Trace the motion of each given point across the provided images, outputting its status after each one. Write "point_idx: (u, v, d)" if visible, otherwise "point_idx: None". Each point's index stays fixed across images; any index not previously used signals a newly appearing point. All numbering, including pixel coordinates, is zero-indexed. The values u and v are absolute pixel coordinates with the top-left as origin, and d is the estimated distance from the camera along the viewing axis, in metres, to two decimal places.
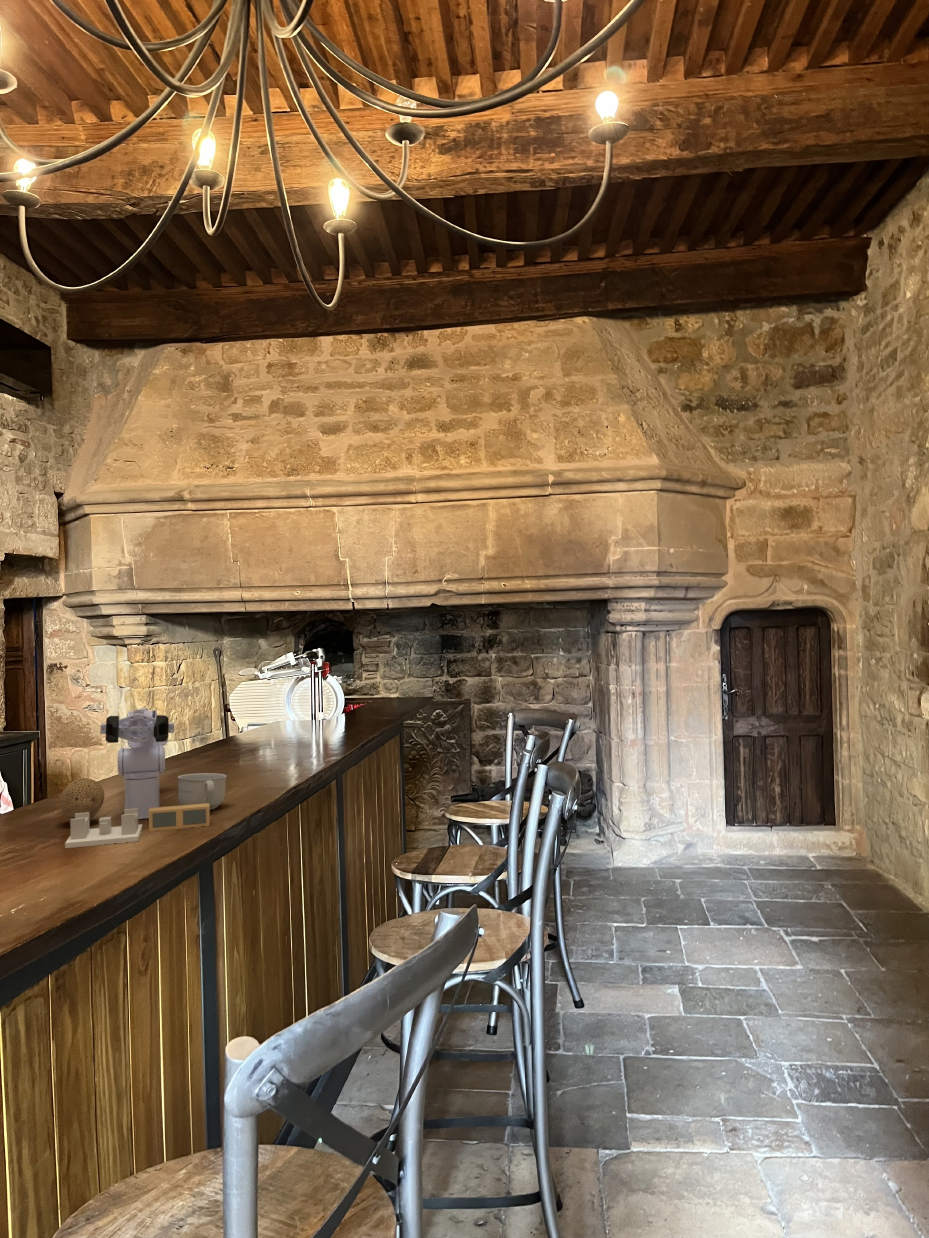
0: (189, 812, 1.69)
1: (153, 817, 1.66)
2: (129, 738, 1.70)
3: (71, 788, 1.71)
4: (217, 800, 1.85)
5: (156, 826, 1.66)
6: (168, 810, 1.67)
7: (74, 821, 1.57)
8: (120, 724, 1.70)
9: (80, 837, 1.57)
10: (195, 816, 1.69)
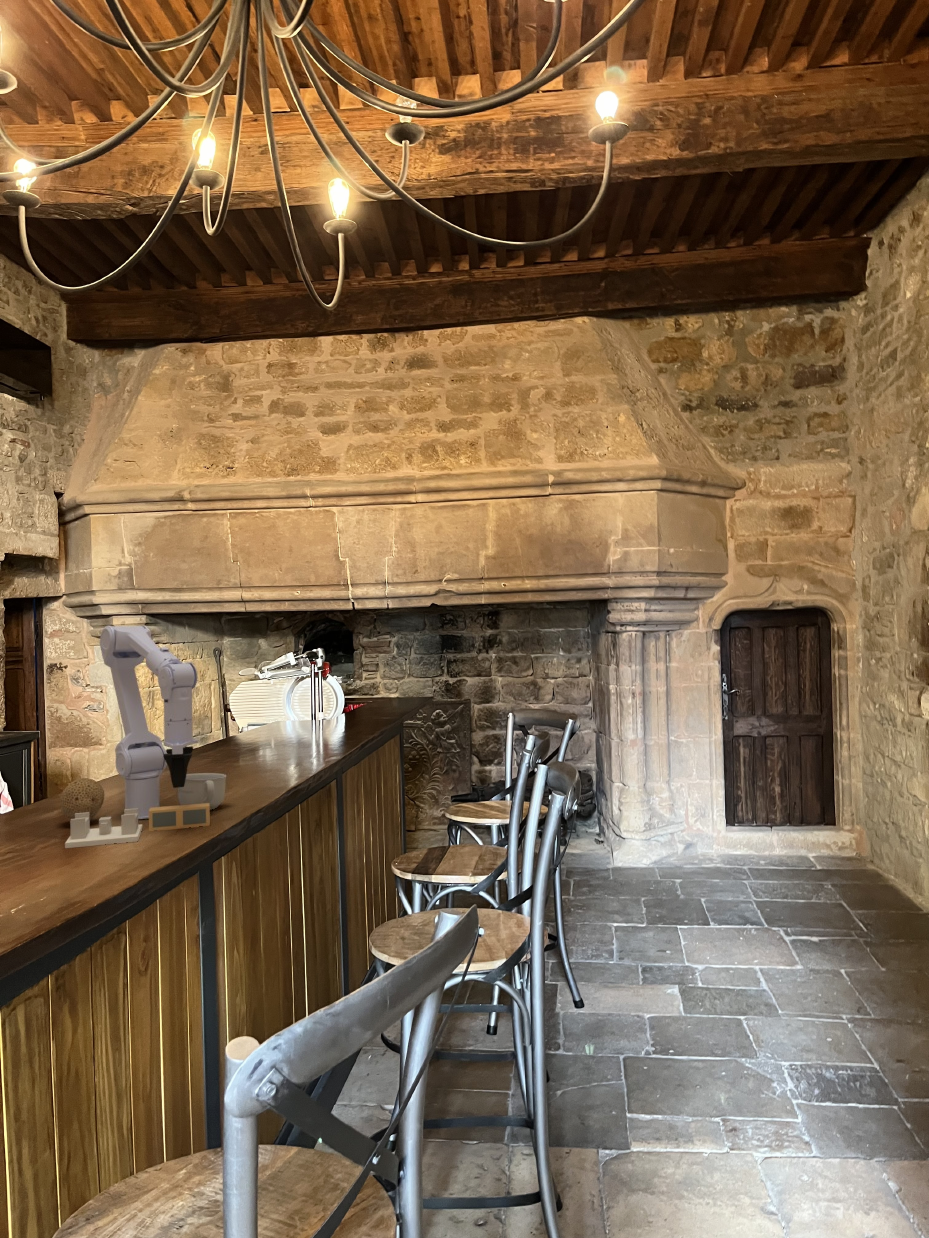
0: (189, 812, 1.69)
1: (153, 816, 1.67)
2: None
3: (71, 788, 1.71)
4: (217, 800, 1.85)
5: (155, 826, 1.67)
6: (168, 810, 1.68)
7: (74, 821, 1.57)
8: None
9: (80, 837, 1.57)
10: (195, 816, 1.69)
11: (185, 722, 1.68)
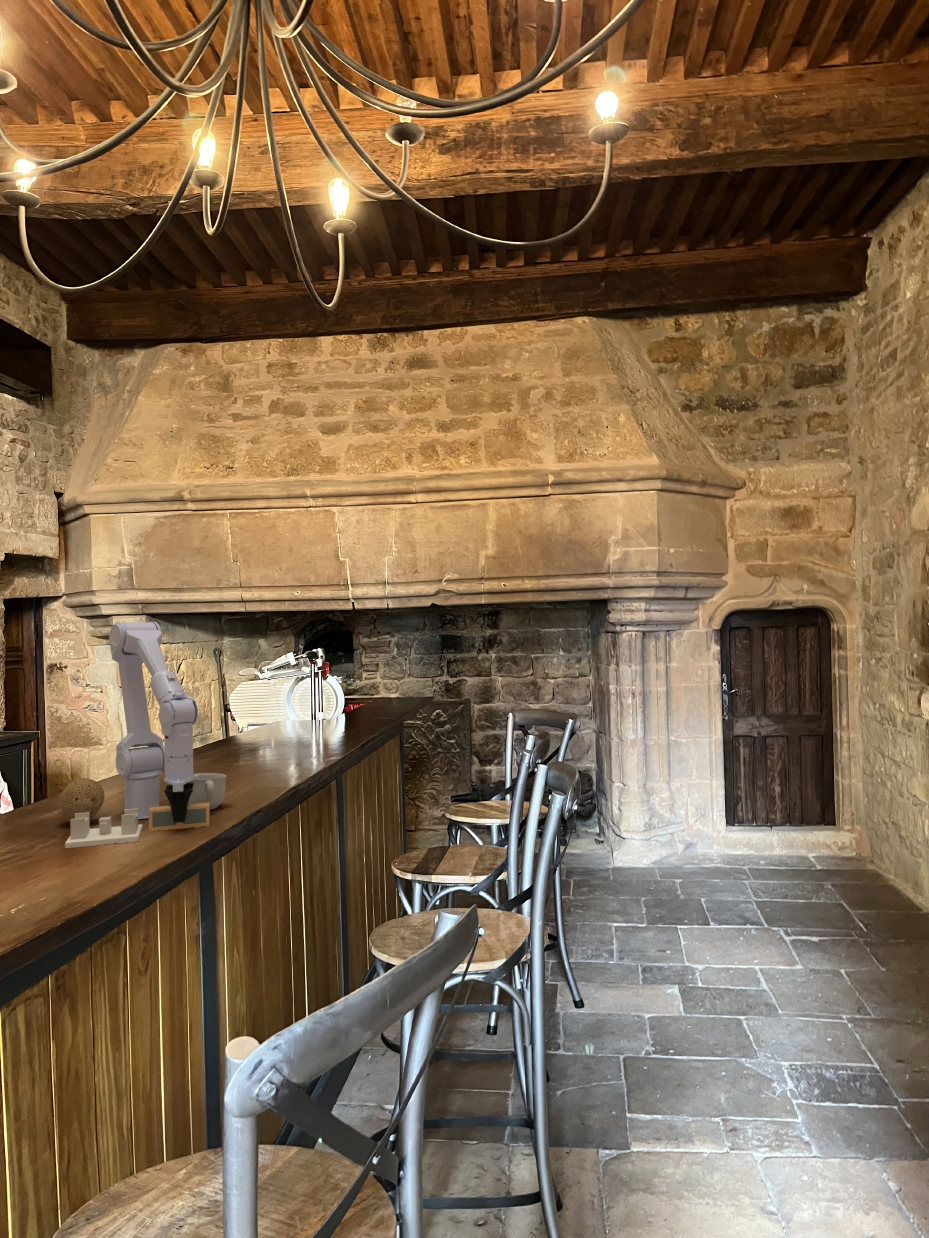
0: (189, 811, 1.68)
1: (153, 816, 1.66)
2: None
3: (71, 788, 1.71)
4: (217, 800, 1.85)
5: (155, 825, 1.66)
6: (168, 809, 1.67)
7: (74, 821, 1.57)
8: None
9: (80, 837, 1.57)
10: (195, 816, 1.69)
11: (186, 758, 1.68)
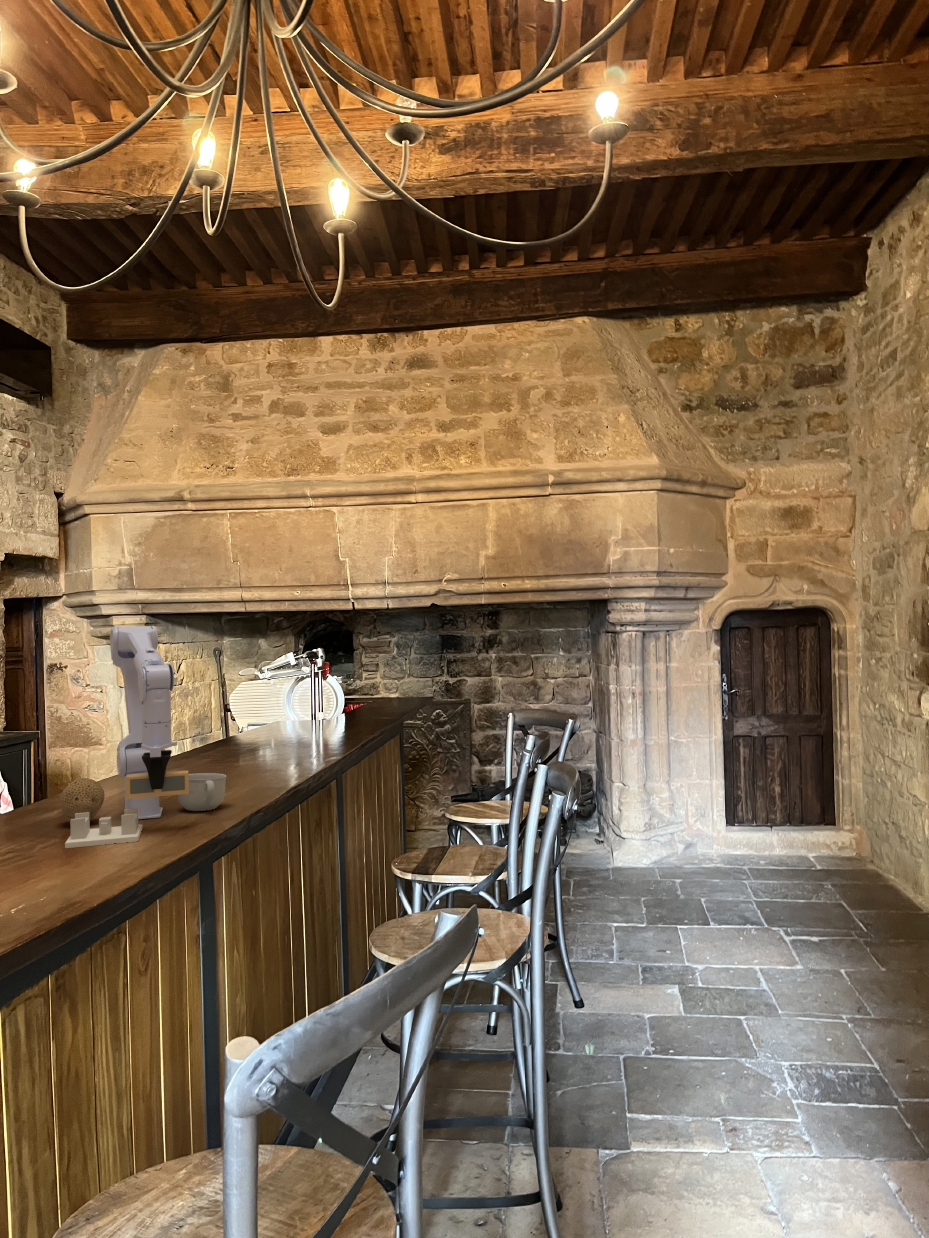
0: (167, 779, 1.66)
1: (131, 783, 1.64)
2: None
3: (71, 788, 1.71)
4: (217, 800, 1.85)
5: (133, 792, 1.64)
6: (146, 776, 1.65)
7: (74, 821, 1.57)
8: None
9: (80, 837, 1.57)
10: (174, 783, 1.67)
11: (163, 724, 1.65)
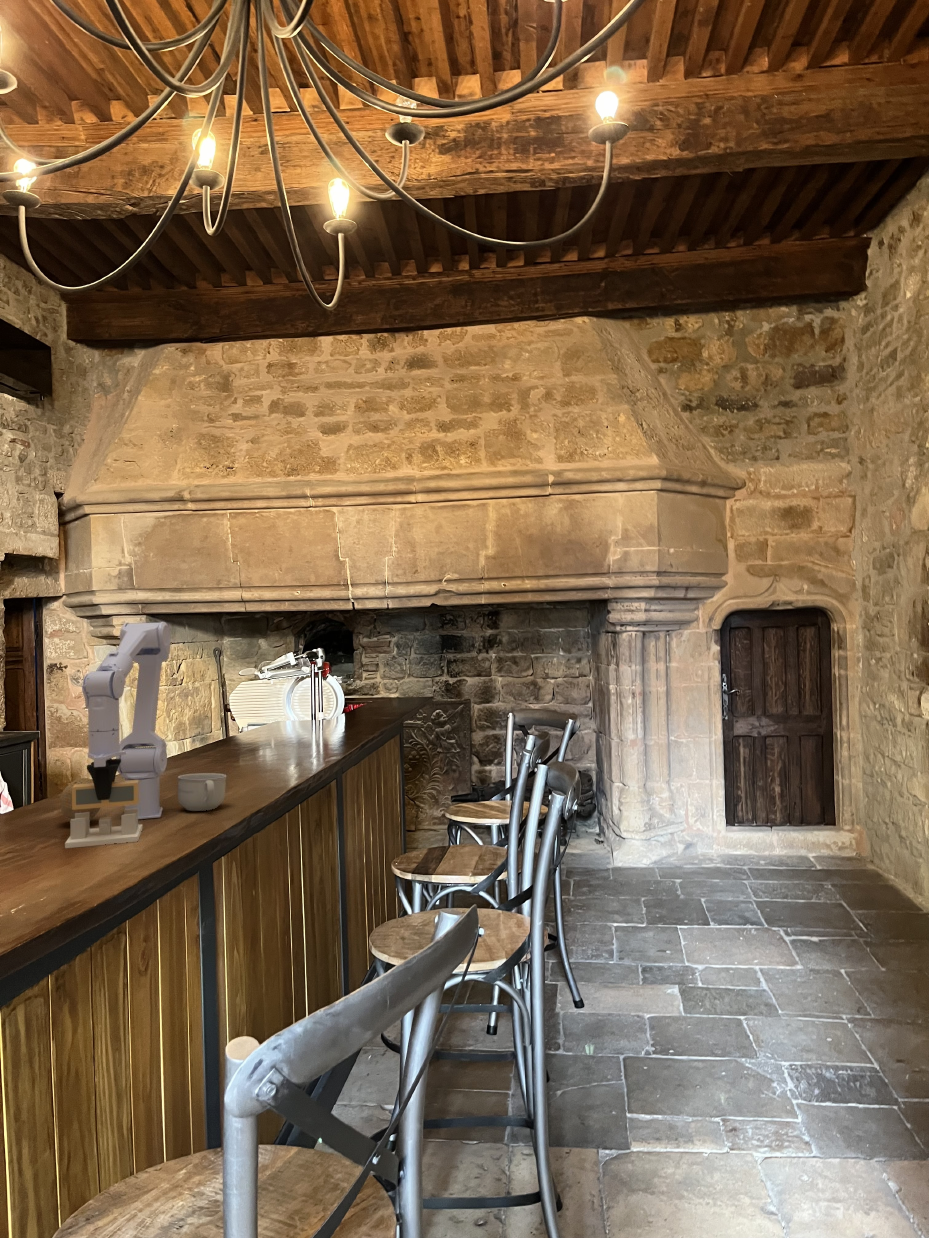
0: (115, 789, 1.60)
1: (77, 793, 1.58)
2: None
3: (71, 788, 1.71)
4: (217, 800, 1.85)
5: (79, 803, 1.58)
6: (93, 786, 1.59)
7: (74, 821, 1.57)
8: None
9: (80, 837, 1.57)
10: (122, 793, 1.61)
11: (110, 732, 1.59)
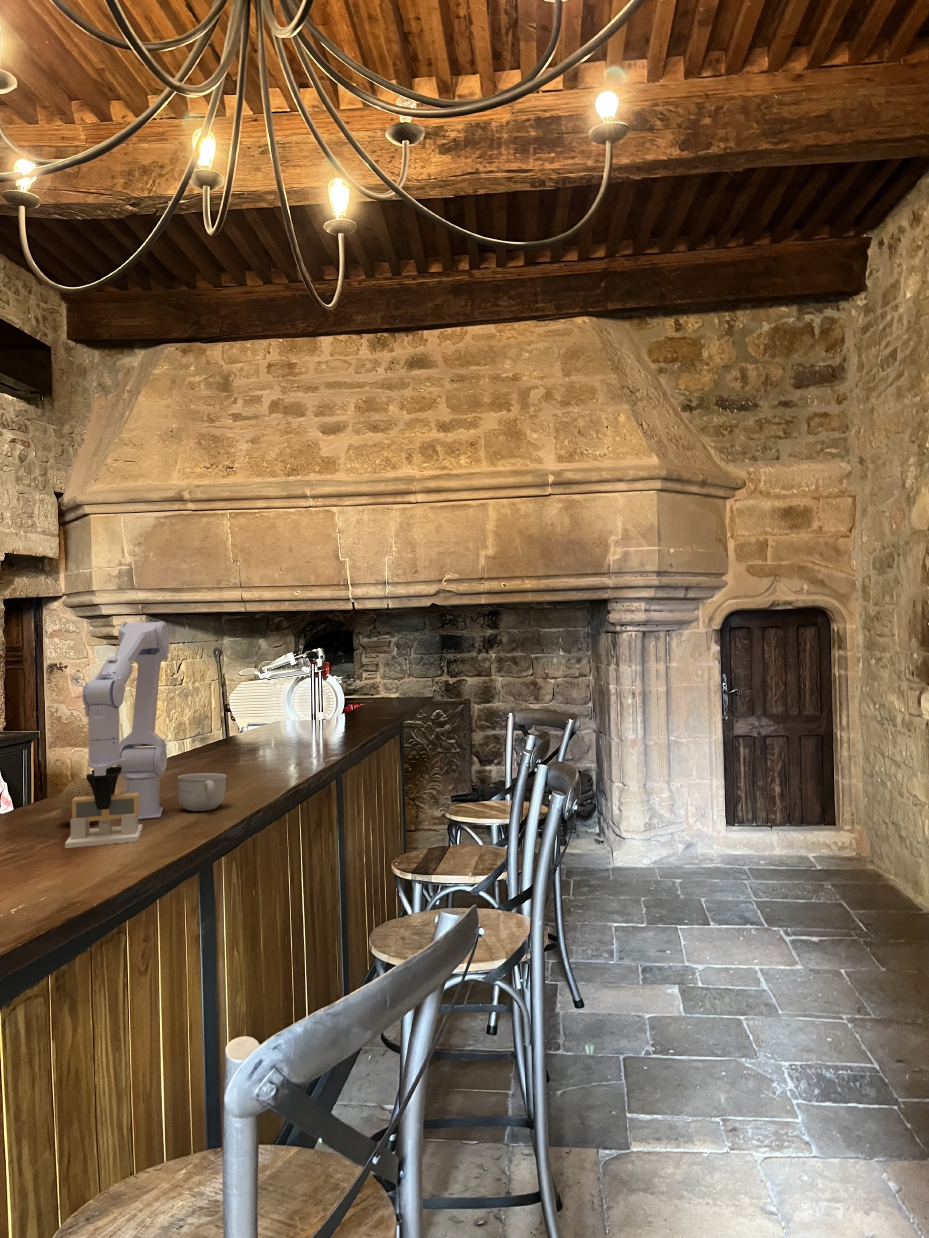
0: (115, 802, 1.60)
1: (77, 806, 1.58)
2: None
3: (71, 788, 1.71)
4: (217, 800, 1.85)
5: (79, 816, 1.58)
6: (93, 799, 1.59)
7: (74, 821, 1.57)
8: None
9: (80, 837, 1.57)
10: (122, 806, 1.60)
11: (110, 741, 1.59)
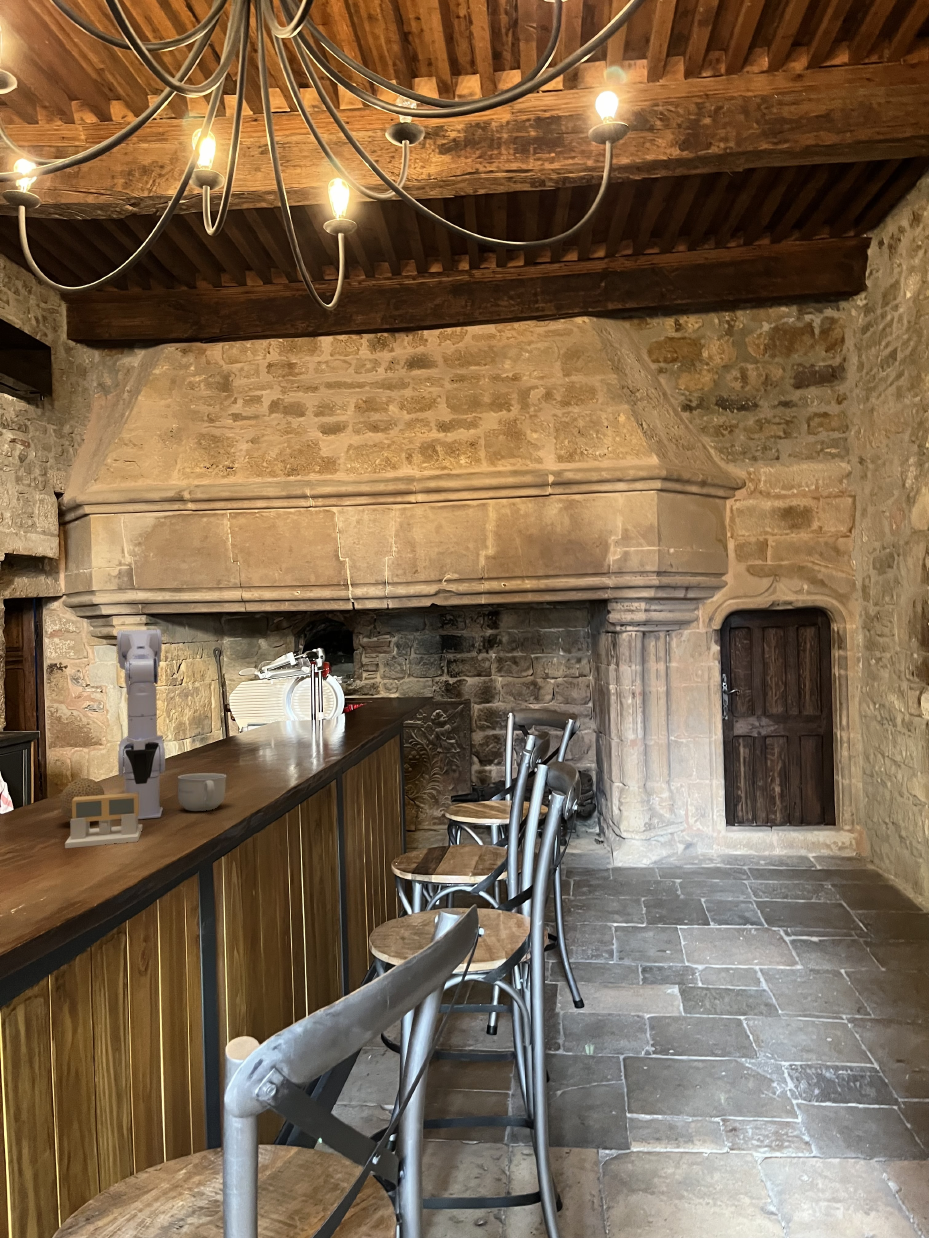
0: (115, 802, 1.60)
1: (77, 806, 1.58)
2: None
3: (71, 788, 1.71)
4: (217, 800, 1.85)
5: (79, 816, 1.58)
6: (93, 799, 1.59)
7: (74, 821, 1.57)
8: None
9: (80, 837, 1.57)
10: (122, 806, 1.60)
11: (148, 717, 1.66)
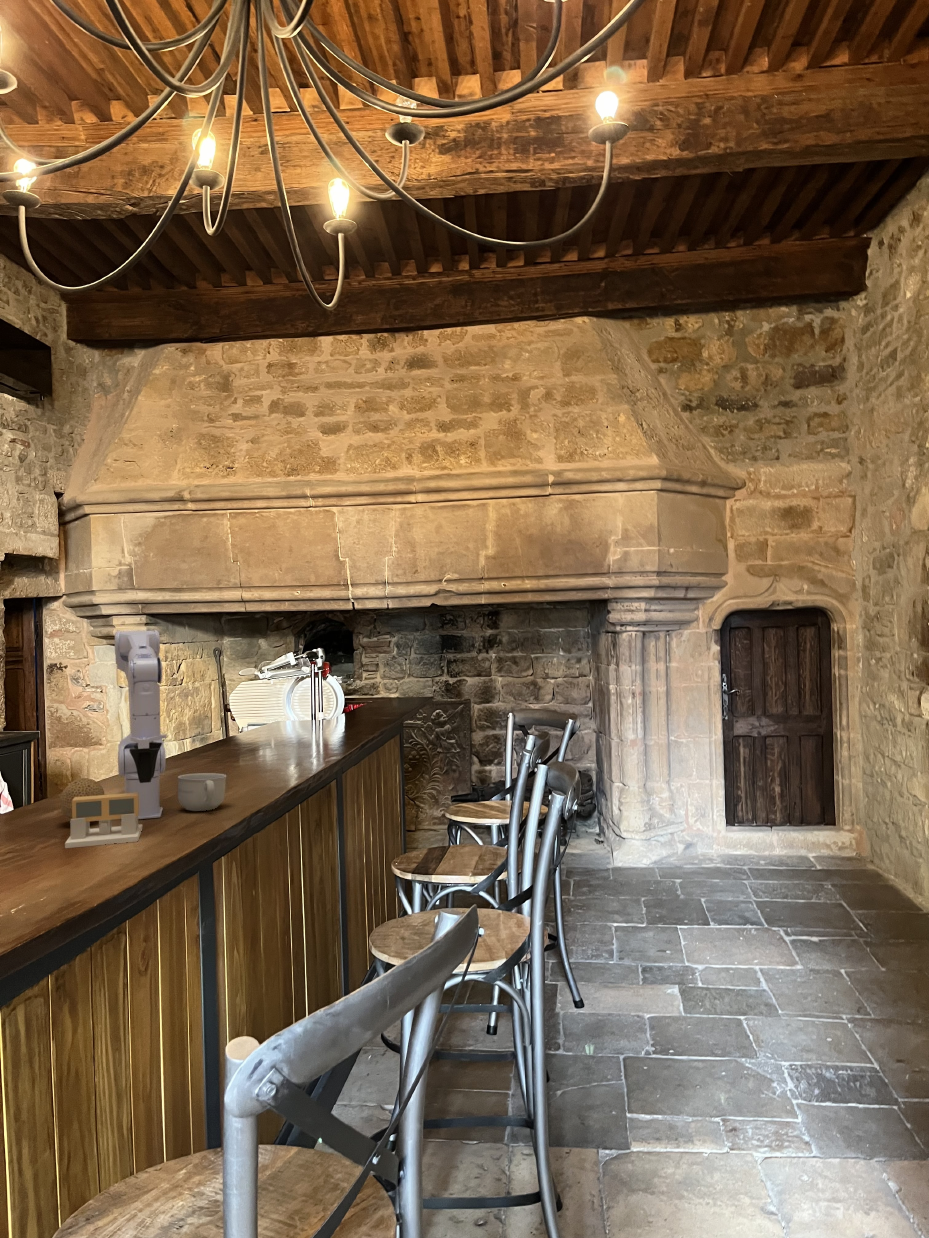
0: (115, 802, 1.60)
1: (77, 806, 1.58)
2: None
3: (71, 788, 1.71)
4: (217, 800, 1.85)
5: (79, 816, 1.58)
6: (93, 799, 1.59)
7: (74, 821, 1.57)
8: None
9: (80, 837, 1.57)
10: (122, 806, 1.60)
11: (152, 717, 1.66)
